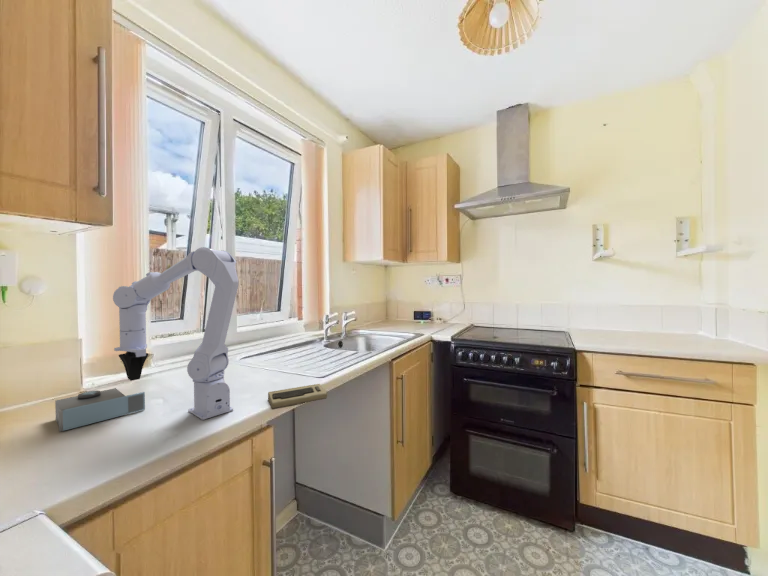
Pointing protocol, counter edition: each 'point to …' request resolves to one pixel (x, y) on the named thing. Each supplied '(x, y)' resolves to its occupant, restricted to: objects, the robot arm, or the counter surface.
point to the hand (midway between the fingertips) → (134, 379)
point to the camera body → (85, 399)
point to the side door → (100, 411)
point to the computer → (296, 395)
